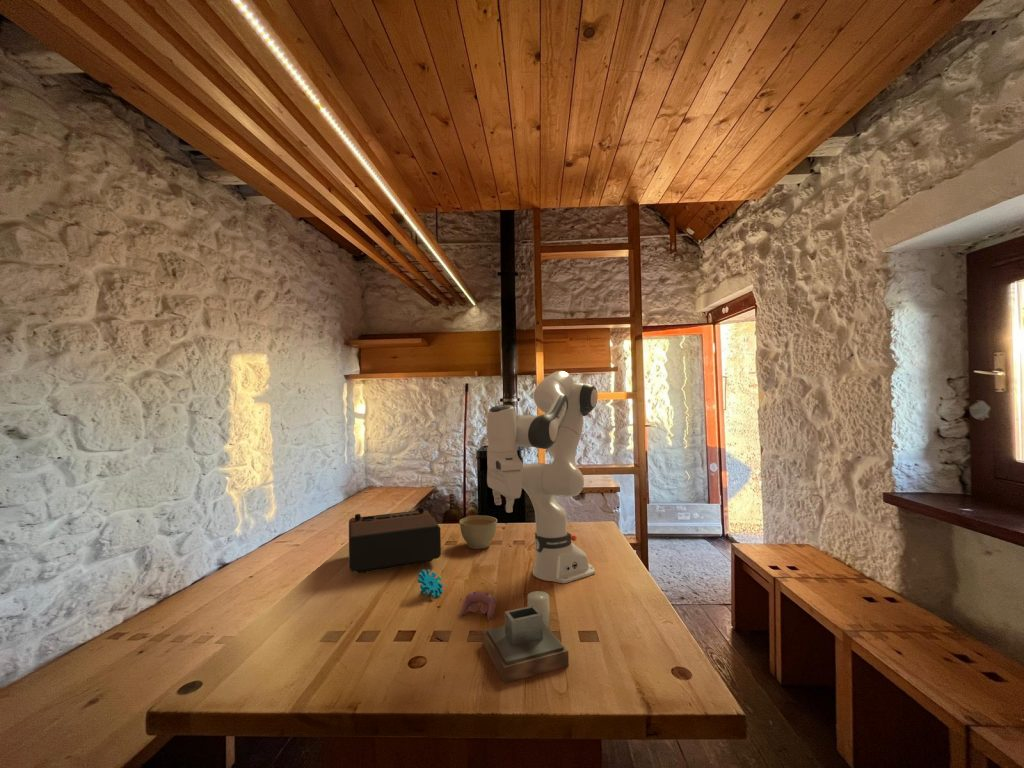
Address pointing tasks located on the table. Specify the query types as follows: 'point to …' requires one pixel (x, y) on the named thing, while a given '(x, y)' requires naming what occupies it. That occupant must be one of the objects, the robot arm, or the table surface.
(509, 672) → the plinth
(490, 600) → the video game controller
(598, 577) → the table surface
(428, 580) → the gear
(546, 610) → the pale grey capsule
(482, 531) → the planter bowl
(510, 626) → the housing
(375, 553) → the radio receiver
